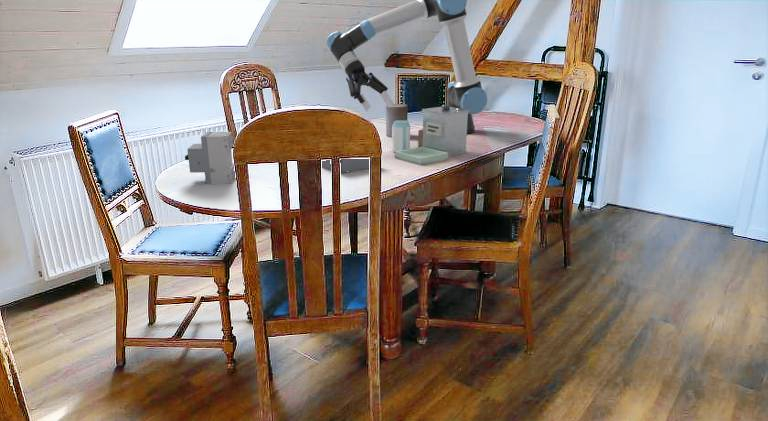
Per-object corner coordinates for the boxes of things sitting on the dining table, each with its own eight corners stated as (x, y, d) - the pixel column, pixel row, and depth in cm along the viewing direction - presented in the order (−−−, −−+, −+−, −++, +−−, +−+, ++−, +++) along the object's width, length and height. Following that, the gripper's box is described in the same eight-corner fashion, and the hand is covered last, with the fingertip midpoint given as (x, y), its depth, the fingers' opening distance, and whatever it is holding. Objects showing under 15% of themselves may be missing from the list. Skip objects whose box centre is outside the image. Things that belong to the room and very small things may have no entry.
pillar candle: (408, 134, 249) (408, 100, 244) (405, 138, 240) (406, 103, 235) (387, 133, 251) (387, 100, 246) (384, 137, 241) (383, 103, 237)
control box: (443, 147, 221) (445, 102, 215) (467, 153, 212) (469, 105, 206) (420, 152, 213) (421, 104, 207) (443, 157, 204) (445, 108, 198)
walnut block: (424, 145, 226) (424, 128, 224) (434, 146, 223) (435, 129, 221) (418, 147, 222) (418, 130, 220) (428, 148, 219) (429, 131, 217)
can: (389, 150, 216) (389, 120, 212) (406, 149, 218) (406, 119, 214) (395, 154, 210) (395, 123, 206) (412, 152, 212) (412, 122, 208)
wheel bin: (354, 159, 202) (354, 143, 200) (377, 166, 191) (377, 149, 190) (318, 165, 192) (317, 149, 190) (340, 173, 182) (340, 156, 180)
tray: (422, 152, 212) (422, 146, 211) (447, 159, 202) (448, 152, 201) (394, 158, 204) (395, 151, 203) (420, 165, 193) (420, 158, 193)
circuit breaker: (191, 177, 176) (186, 132, 172) (236, 177, 178) (232, 131, 173) (185, 184, 169) (180, 136, 165) (232, 183, 171) (228, 136, 166)
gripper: (367, 70, 230) (394, 109, 226) (325, 74, 212) (353, 116, 208) (377, 58, 225) (405, 98, 221) (334, 60, 207) (364, 104, 203)
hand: (380, 107), depth 214 cm, fingers open, 13 cm apart
